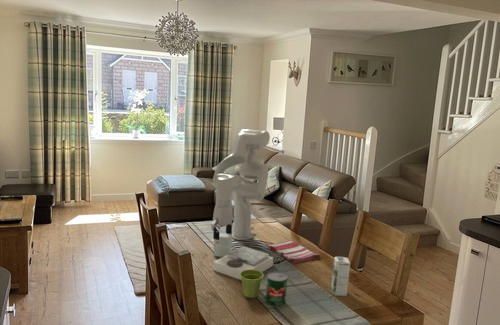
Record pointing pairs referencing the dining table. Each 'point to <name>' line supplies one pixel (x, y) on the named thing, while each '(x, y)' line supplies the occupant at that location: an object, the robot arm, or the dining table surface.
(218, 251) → the small box
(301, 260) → the dish towel
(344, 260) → the syrup box
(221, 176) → the robot arm
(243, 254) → the scale pan
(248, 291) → the plant pot
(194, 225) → the dining table surface
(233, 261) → the scale
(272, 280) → the canned tomato
